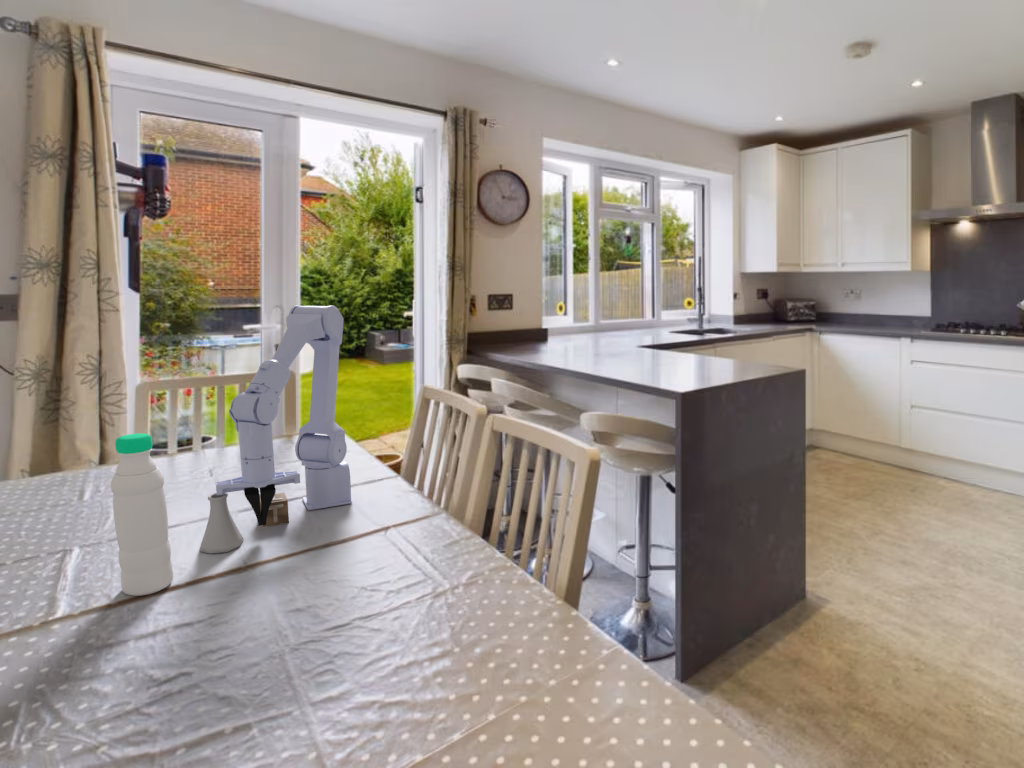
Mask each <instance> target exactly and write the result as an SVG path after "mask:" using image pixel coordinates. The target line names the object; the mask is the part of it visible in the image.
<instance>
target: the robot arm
mask: <svg viewBox="0 0 1024 768" xmlns="http://www.w3.org/2000/svg"><path fill="white" fill-rule="evenodd" d="M344 319H345V318H344V317H343V315H342V313H341V312H340V310H339V308H338V307H336V305H327V306H326V305H302V304H295V305H293V306H292V307H291V308H290V310H289V314H287V316H286V317H285V321H286V327H287V328H286V331H285V333H283V336H282V338H281V341H280V342H279V343H278V346H277V348H276V351H275V353H274V355H273V357H272V359H267V360H264V361H262V362H261V364H260V365H259V368H258V370H257V372H256V373H254V376H253V378H252V379H251V381H250V383H249V384H248V385H247V388H246V389H245V391H244V392H241V393H238V394H237V395H236V396H235V397H234V398H232V401H231V404H230V409H228V414H229V417H230V418H231V420H232V421H233V422H234V428H235V430H236V432H237V433H238V443H239V455H240V468H241V476H239V477H235V478H230V479H226V480H221V481H216V482H215V491H216V492H215V493H217V495H222V494H223V493H234V492H240V491H243V492H244V493H243V494H244V496H245V499H246V500H247V502H248V503H249V505H250V506H251V508H252V510H253V512H254V514H255V516H256V517H255V518H256V521H257V522H256V523H257V525H258V527H262V525H266V521H267V515H268V510H269V507H270V504H271V502H272V499H273V497H274V495H275V494H276V493H277V491H276V486H281V485H287V484H295V485H296V484H300V483H301V475H300V471H299V470H294V471H277V472H276V471H275V470H276V469H275V458H274V455H275V454H274V442H273V439H274V438H273V426H272V423H273V421H275V419H276V418H277V416H278V413H279V404H280V402H281V401H280V399H281V398H280V396H281V394H282V392H283V391H284V389H285V388H286V385H287V383H288V382H289V380H290V379H291V375H292V373H291V369H290V366H291V365H292V363H294V361H295V359H296V358H297V356H298V355H299V354H300V352H301V351H302V349H303V348H304V347H305V345H306V344H308V345H309V346H310V347H311V348H312V349H313V352H314V353H313V365H312V366H313V367H312V381H311V395H310V406H309V407H310V408H309V421H307V422H306V423H305V424H304V425H302V426H301V427H300V428H299V430H298V431H299V432H298V433H299V434H298V437H297V440H296V442H295V446H294V447H295V449H294V452H295V456H296V457H297V459H298V460H299V461H300V462H301V466H304V476H305V477H304V478H305V494H306V496H303V497H302V501H303V503H304V505H305V507H306V509H307V510H308V511H314V510H318V509H319V510H320V509H325V508H331V507H337V506H338V507H339V506H343V505H348V504H352V503H353V500H352V492H351V491H352V489H351V488H352V486H351V472H350V467H349V462H347V461H343V460H344V459H345V457H346V454H347V451H348V449H347V448H348V447H347V442H346V431H345V429H343V427H342V426H340V425H339V424H338V423H337V422H336V421H335V417H336V406H337V405H336V404H337V402H336V401H337V388H338V373H339V361H340V359H339V358H340V346H341V345H342V343H343V335H344V334H343V333H344V332H343V331H344ZM260 497H261V510H260Z"/></svg>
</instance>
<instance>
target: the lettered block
mask: <svg viewBox="0 0 1024 768" xmlns="http://www.w3.org/2000/svg"><path fill="white" fill-rule="evenodd" d="M288 502H289V500H288V498H287V495H286V493H285V492H280V493H275V495H274V497H273V499H272V502H271V504H270V507H269V510H268V515H267V521H266V525H262V526H261V527H262V528H269V527H273V526H279V525H285V524H289V523H290V520H289V519H290V517H289V515H290V514H289V503H288ZM260 510H261V497H260Z"/></svg>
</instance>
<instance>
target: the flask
mask: <svg viewBox="0 0 1024 768" xmlns="http://www.w3.org/2000/svg"><path fill="white" fill-rule="evenodd" d="M228 496H229V492H227V493H223V494H222V495H217V492H214V493H212V494H209V496H207V500H208V501H209V504H210V505H209V507H210V508H209V509H210V510H209V516H208V519H207V524H206V528H205V530H204V531H205V532H204V534H203V537H202V540H201V543H200V547H199V550H198V551H199V552H202V553H207V554H221V553H222V554H223V553H228V552H230V551H232V550H234V549H237V548H239V547H241V545H242V543H243V541H244V537H243V535H242V533H241V531H240V530H239V527H238V526H237V524H236V522H235V521H234V519H233V516H232V515H231V512H230V509H229V507H228V499H227V498H228Z"/></svg>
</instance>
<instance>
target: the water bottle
mask: <svg viewBox="0 0 1024 768" xmlns="http://www.w3.org/2000/svg"><path fill="white" fill-rule="evenodd" d="M114 443H115V451H116V454H117V455H118V457H120V458H119V459H120V460H119V463H118V464H117V466H116V467H115V472H114V474H113V476H112V478H111V480H110V489H111V490H110V491H111V492H112V494H113V495H112V509H113V518H114V519H113V520H114V526H115V527H114V528H115V535H116V540H117V545H118V563H119V567H120V583H121V585H120V587H121V590H122V591H123V593H124V594H126V595H129V596H134V597H135V596H136V597H138V596H139V597H140V596H146V595H151V594H154V593H157V592H160V591H163V590H164V589H165V588H166V587H168V586H169V585H170V584H171V583H172V582H173V580H174V569H173V564H172V560H171V557H172V556H171V555H172V549H171V543H170V540H169V517H168V505H167V501H166V499H167V498H166V493H165V488H164V484H165V477H164V476H165V475H164V474H163V472H162V471H161V469H160V468H159V466H157V463H156V462H155V460H154V459H153V458H152V457H151V454H150V453H151V452H152V450H153V449H152V448H153V439H152V436H151V435H150V434H147V433H140V432H139V433H137V432H136V433H129V434H125V435H121V436H118V437H117V438H116V439H115V442H114Z"/></svg>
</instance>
